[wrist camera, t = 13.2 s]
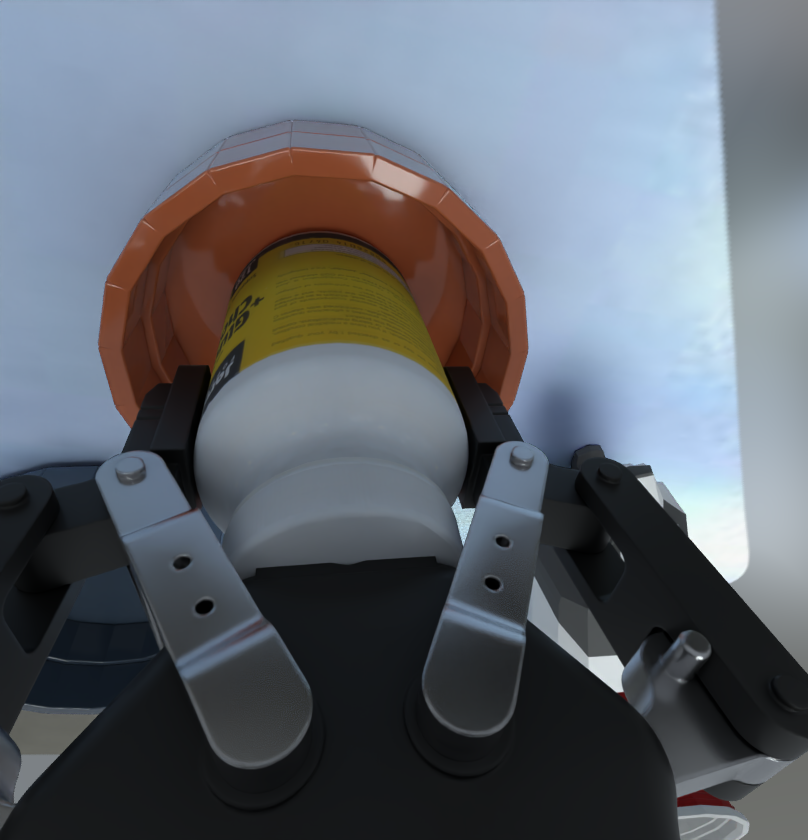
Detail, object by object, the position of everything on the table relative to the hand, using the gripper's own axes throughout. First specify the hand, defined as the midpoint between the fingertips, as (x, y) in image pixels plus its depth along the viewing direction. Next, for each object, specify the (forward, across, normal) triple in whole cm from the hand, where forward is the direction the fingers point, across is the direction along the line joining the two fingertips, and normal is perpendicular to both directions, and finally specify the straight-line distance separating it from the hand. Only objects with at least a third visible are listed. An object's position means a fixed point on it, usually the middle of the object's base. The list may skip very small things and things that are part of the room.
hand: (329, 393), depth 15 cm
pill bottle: (+5, 0, 0) cm, 5 cm away
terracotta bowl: (+5, 0, 0) cm, 5 cm away
